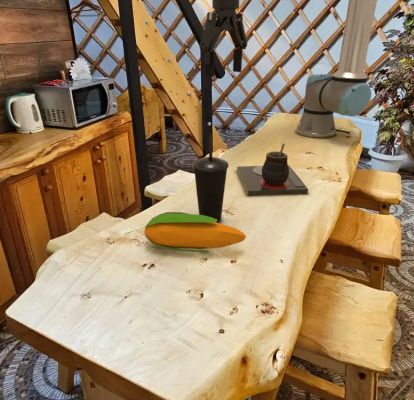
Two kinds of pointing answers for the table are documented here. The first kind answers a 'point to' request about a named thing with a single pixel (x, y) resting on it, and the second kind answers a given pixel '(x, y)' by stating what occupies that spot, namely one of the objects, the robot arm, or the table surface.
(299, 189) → the hob
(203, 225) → the corn
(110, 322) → the table surface
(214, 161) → the drinking cup
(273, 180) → the mate gourd
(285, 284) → the table surface
